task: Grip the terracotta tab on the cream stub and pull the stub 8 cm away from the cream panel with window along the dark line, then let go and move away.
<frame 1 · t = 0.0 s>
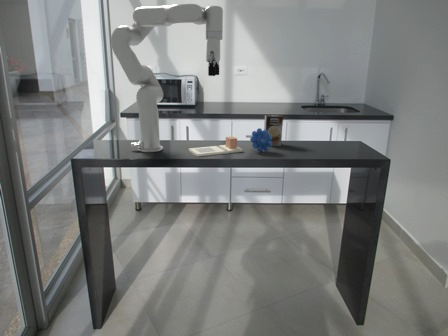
hand: (213, 75, 165), 37 cm above the countertop, tool pointing down, fingers open, 9 cm apart
coffee box: (272, 145, 195), on the countertop
cream panel with window: (207, 152, 177), on the countertop
stub: (230, 143, 182), point 3 cm above the countertop, slide at 0.0 cm
grapes: (261, 152, 179), on the countertop
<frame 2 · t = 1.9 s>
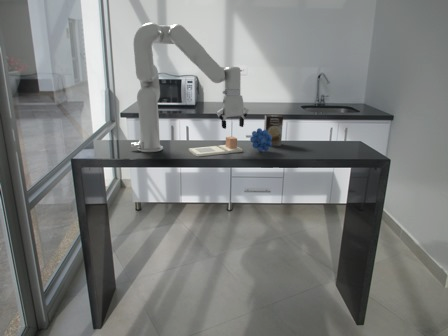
hand: (232, 127, 179), 12 cm above the countertop, tool pointing down, fingers open, 9 cm apart
nothing on the countertop moved.
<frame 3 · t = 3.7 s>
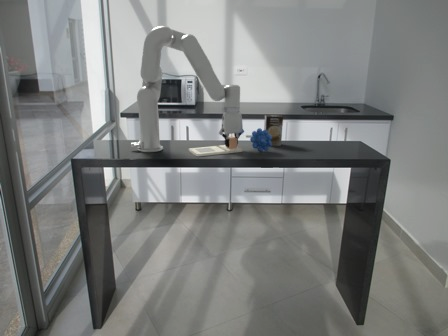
hand: (231, 145, 182), 2 cm above the countertop, tool pointing down, fingers closed on stub, 4 cm apart
stub: (230, 143, 182), point 3 cm above the countertop, slide at 0.0 cm, touching gripper
everything else where it was.
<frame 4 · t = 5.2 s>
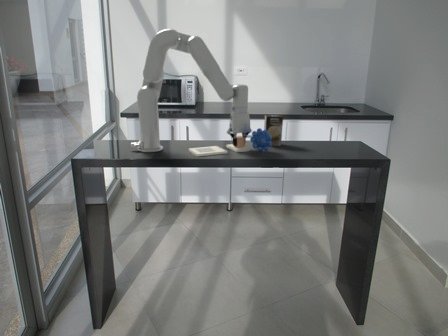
hand: (239, 145, 184), 2 cm above the countertop, tool pointing down, fingers closed on stub, 4 cm apart
stub: (238, 143, 183), point 3 cm above the countertop, slide at 4.4 cm, touching gripper
everything else where it was.
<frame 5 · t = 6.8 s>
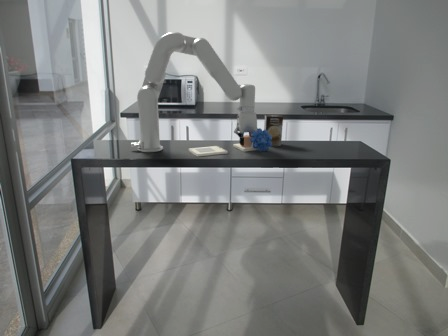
hand: (245, 144, 186), 2 cm above the countertop, tool pointing down, fingers closed on stub, 4 cm apart
stub: (245, 142, 185), point 3 cm above the countertop, slide at 8.4 cm, touching gripper
everything else where it was.
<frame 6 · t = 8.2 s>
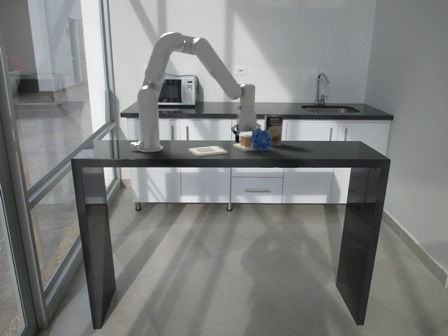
hand: (245, 141, 185), 3 cm above the countertop, tool pointing down, fingers open, 9 cm apart
stub: (245, 142, 185), point 3 cm above the countertop, slide at 8.5 cm
everything else where it was.
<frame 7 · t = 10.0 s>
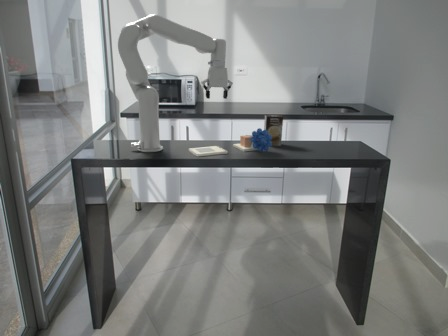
hand: (216, 98, 187), 25 cm above the countertop, tool pointing down, fingers open, 9 cm apart
nothing on the countertop moved.
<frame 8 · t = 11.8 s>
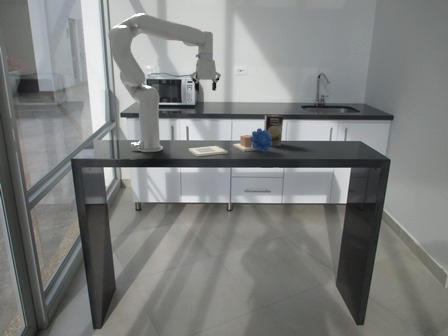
hand: (205, 90, 189), 28 cm above the countertop, tool pointing down, fingers open, 9 cm apart
nothing on the countertop moved.
at the end: stub slide at 8.5 cm; the gripper is holding nothing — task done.
